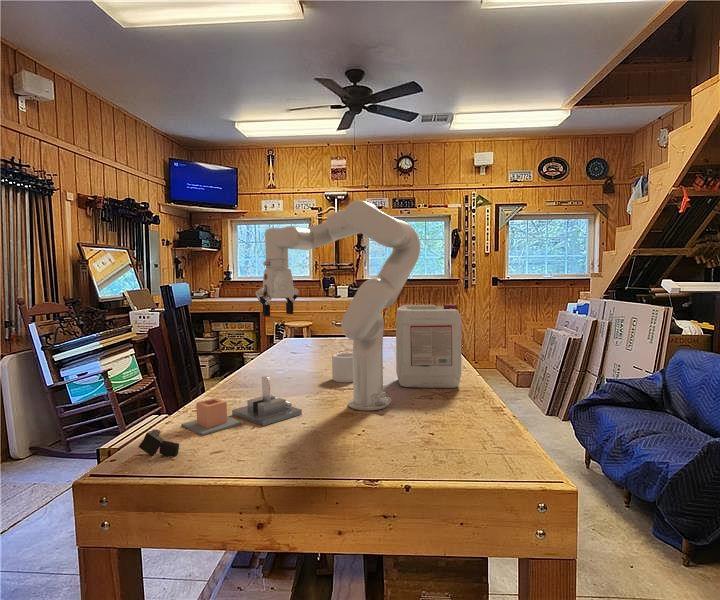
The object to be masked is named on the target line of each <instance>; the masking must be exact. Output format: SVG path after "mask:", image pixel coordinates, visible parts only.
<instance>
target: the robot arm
mask: <svg viewBox="0 0 720 600" xmlns="http://www.w3.org/2000/svg"><path fill="white" fill-rule="evenodd" d="M358 234H361V235H363V236H365V237H366V238H369V239H371V240H372V241H373V242H375V243H377V244H379V245H381V246H382V247H386V248H390V249H392V252H391V253H390V255H389V256H388V257H387V259H386V260H385V262H384V264H383V265H382V268H380V269H381V270H380V271H379V272H378V274H377V276H376V277H372V278H370V279H367V280H365V281H364V282H363V283H362V284H360V285H359V287H358V289H357V291H356V293H355V294H354V296H353V298H352V299H351V302H350V303H349V305H348V307H347V308H346V311H345V312H344V314H343V316H342V319H341V331H342V333H343V334H344V336H345V337H346V338H347V339H349V340H351V341H352V342H353V343H352V353H353V382H352V385H353V386H352V391H353V395H352V396H353V398H351V399H350V400H349V401H348V407H350V408H351V409H354V410H357V411H378V410H381V409H385V408H387V407H388V406H389V405H390V403H391V402H392V398H391V397H389V396H387V395H386V394H387V393H386V391H384V367H383V365H384V363H383V354H384V353H383V345H384V344H383V341H384V333H385V320H384V316H383V314H382V313H383V310H384V309H386V308H389V307H391V306H393V304H394V303H396V300H397V299H398V297H399V295H400V293H401V291H402V289H403V287H404V286H405V284H406V282H407V281H408V278H409V277H410V276H411V275H410V274H412V271H413V270H414V268H415V266H416V264H417V262H418V261H419V257H420V254H421V253H420V252H421V241H420V237H419V235H418V233H417V231H416V230H415V228H413V226H412V225H411V224H410V223H408V222H406V221H403V220H401V219H397V218H395V217H392V216H390V215H388V214H386V213H385V212H383V211H382V210H379V207H377V206H376V205H375V204H374V203H371V202H368V201H366V200H362V199H357V200H353V201H351V202H349V204H347V205H346V207H345V209H343V210H339V211H335V212H331V213H330V214H328V215H327V216H326V220H325V221H323V222H321V223H319V224H316V225H312V226H310V227H302V226H294V225H291V226H290V225H289V226H285V227H284V226H283V227H271V228H267V229H266V230H265V231H264V238H265V239H264V240H265V241H264V244H265V250H264V251H265V261H263V263H262V264H263V266H265V269H264V270H263V279H262V287H260V288H259V289H258V290H256V291H255V296H256V298H257V300H258V301H259V302H260V305H262V316H263V317H271V304H269V303H270V302H271V300H272V299H276V300H277V299H285V300H286V302H285V309H286V310H285V312H286V315H287V314H288V315H294V304H295V301H296V300H297V298H298V295H299V291H300V290H299V289H298V288H296V287H295V286H294V280H293V274H292V270H291V268H289V250H299V251H300V250H302V251H307V250H312V249H316V248H320V247H324V246H326V245H329V244H331V243H334V242H336V241H338V240H340V239H345V238H348V237H351V236H355V235H358Z"/></svg>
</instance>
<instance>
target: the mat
mask: <svg viewBox="0 0 720 600" xmlns="http://www.w3.org/2000/svg"><path fill="white" fill-rule="evenodd" d="M242 424H243V422H242V421H239V420H237V419H235V418H232V417H229V416H227V423H224V424H220V425H217V426H213V427H210V428H206V427H204V426H202V425H200V424H197V419H195V420H191V421H186V422H183V423H181V427H184V428H185V429H188V430H190V431H192V432H194V433H196V434H197V435H200V436H202V437H203V436H206V435H210V434H213V433H217V432H220V431H224V430H228V429H230V428H231V429H232V428H235V427H237V426H241V425H242Z"/></svg>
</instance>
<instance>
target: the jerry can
mask: <svg viewBox="0 0 720 600" xmlns="http://www.w3.org/2000/svg"><path fill="white" fill-rule="evenodd" d="M395 322H396V323H395V340H396V342H395V345H396V346H395V350H396V352H395V357H396V358H395V359H396V363H395V367H396V376H397V380H398V383H399V385H400V387H404V388H418V389H419V388H420V389H421V388H422V389H423V388H424V389H425V388H428V389H429V388H430V389H431V388H432V389H455V388H457V387H458V386H459V385H460V381H461V377H462V331H463V330H462V329H463V328H462V324H463V323H462V315H461V314H460V312H459V310H458V304H454V303H453V304H452V303H447V304H446V303H445V304H444V305H443V306H437V305H435V304H402V305H401V306H399V307H398V308H397V310H396V321H395Z"/></svg>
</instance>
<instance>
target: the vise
mask: <svg viewBox="0 0 720 600" xmlns="http://www.w3.org/2000/svg"><path fill="white" fill-rule="evenodd" d="M261 391H262V392H261V393H262V394H261V396H260V397H255V398H251V399H247V405H246V406H242V407H237V408H235V409H231V413H232V414H231V415H232V416H235V417H237V418H240V419H243V420H246V421H247V422H250V423H253V424H256V425H258V424H259V425H258V426H261V427H266V426H268V424H269V425H272V424H275V423H278V422H282V421H285V420H289V419H291V418H295V417H298V416H302V414H303V411H302V409H301V408H298V407H295V406H292V403H291V402H289V401H287V399H284V398H282V397H278V398H276V396H274V395H271V377H270V376H269V375H266V376H261ZM271 423H272V424H271ZM265 425H266V426H265Z"/></svg>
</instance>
